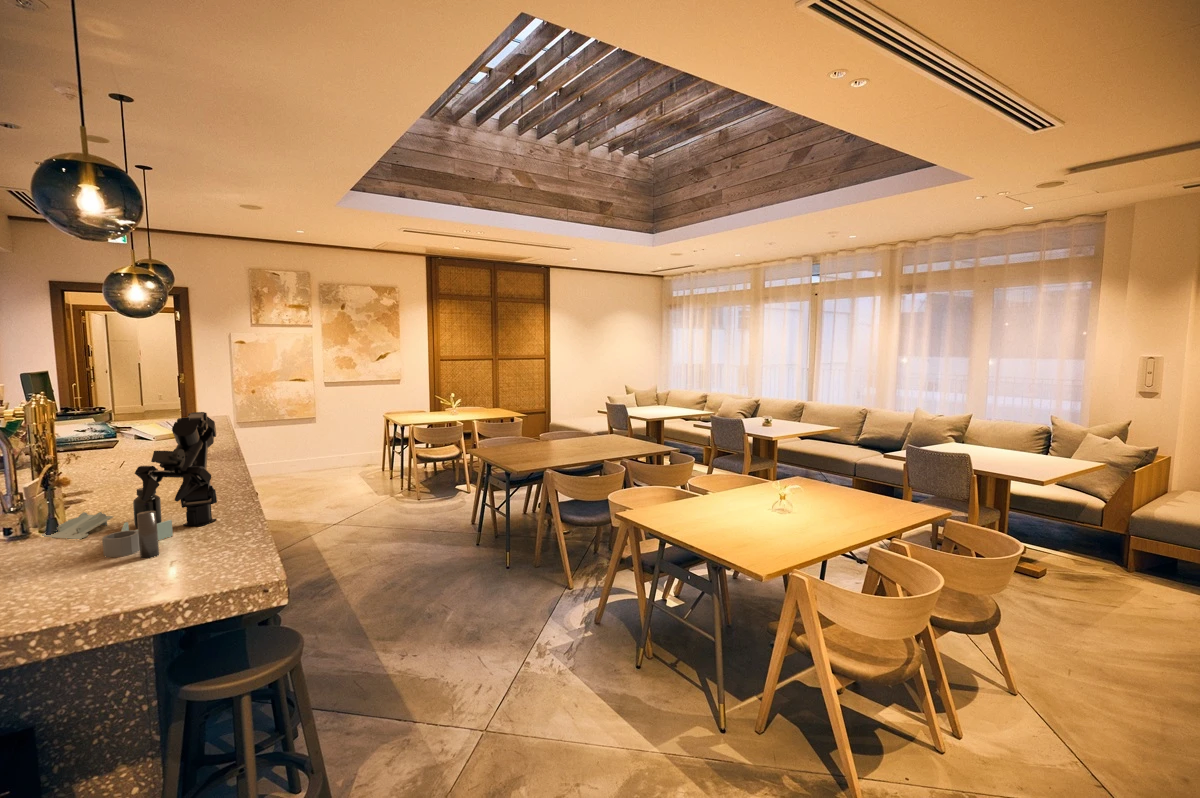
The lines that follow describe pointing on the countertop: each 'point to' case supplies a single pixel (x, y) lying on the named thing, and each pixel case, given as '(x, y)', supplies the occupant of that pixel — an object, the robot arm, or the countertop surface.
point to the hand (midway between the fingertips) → (159, 500)
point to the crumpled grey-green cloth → (79, 526)
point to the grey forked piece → (130, 539)
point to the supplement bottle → (147, 505)
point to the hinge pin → (148, 534)
